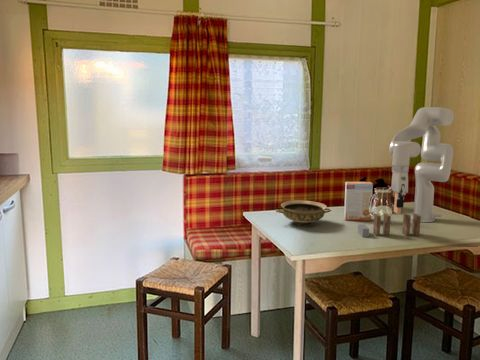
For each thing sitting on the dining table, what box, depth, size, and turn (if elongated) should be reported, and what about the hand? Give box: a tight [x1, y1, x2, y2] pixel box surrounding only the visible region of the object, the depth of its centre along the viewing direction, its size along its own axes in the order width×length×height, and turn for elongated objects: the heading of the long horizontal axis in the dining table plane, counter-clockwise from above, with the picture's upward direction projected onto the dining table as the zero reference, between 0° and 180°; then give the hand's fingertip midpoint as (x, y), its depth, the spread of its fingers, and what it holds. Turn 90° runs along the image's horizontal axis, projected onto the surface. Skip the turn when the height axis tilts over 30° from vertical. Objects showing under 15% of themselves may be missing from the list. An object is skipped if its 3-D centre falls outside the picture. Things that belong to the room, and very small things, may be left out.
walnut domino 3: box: [401, 213, 412, 237], centre depth 216 cm, size 2×5×10 cm, turn 0°
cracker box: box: [343, 181, 374, 222], centre depth 243 cm, size 14×6×21 cm, turn 84°
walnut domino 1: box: [372, 212, 382, 237], centre depth 216 cm, size 2×5×10 cm, turn 1°
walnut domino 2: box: [382, 212, 392, 237], centre depth 216 cm, size 2×5×10 cm, turn 1°
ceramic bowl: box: [275, 199, 332, 226], centre depth 236 cm, size 30×24×10 cm
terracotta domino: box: [393, 192, 402, 215], centre depth 214 cm, size 2×5×10 cm, turn 0°
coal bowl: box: [358, 176, 389, 195], centre depth 268 cm, size 20×20×19 cm
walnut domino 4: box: [411, 212, 421, 237], centre depth 216 cm, size 2×5×10 cm, turn 0°
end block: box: [357, 223, 370, 238], centre depth 217 cm, size 3×8×4 cm, turn 1°
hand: (397, 205), depth 214 cm, fingers closed on terracotta domino, 4 cm apart
